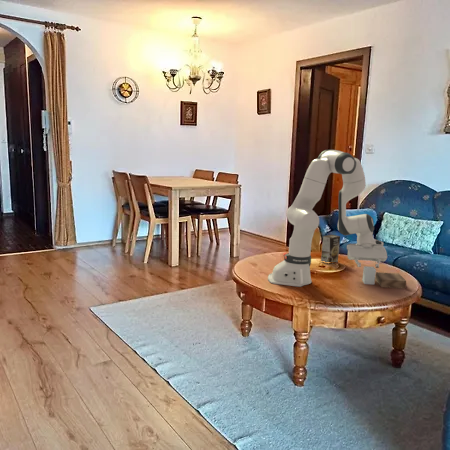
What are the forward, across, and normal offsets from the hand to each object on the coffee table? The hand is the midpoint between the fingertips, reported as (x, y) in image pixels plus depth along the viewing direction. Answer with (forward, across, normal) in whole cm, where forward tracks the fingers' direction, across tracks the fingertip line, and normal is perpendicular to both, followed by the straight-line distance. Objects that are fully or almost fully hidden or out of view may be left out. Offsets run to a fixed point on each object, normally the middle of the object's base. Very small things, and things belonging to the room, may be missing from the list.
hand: (368, 267), depth 227 cm
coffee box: (-16, -15, +27) cm, 35 cm away
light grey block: (+8, 0, +3) cm, 8 cm away
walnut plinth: (+8, +11, +3) cm, 14 cm away
